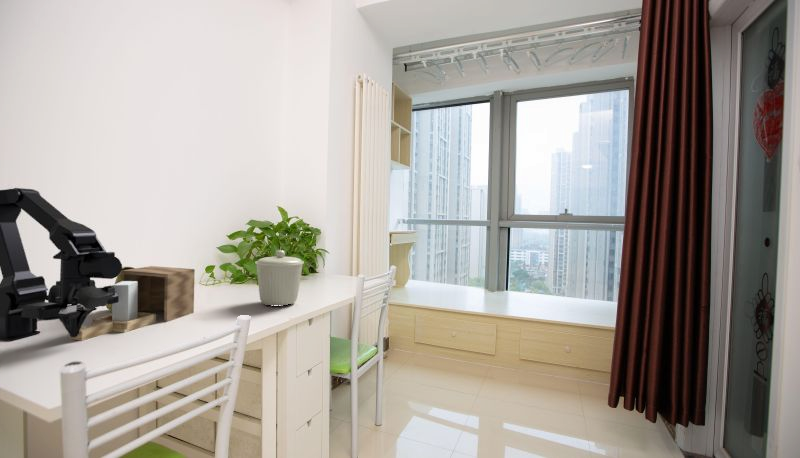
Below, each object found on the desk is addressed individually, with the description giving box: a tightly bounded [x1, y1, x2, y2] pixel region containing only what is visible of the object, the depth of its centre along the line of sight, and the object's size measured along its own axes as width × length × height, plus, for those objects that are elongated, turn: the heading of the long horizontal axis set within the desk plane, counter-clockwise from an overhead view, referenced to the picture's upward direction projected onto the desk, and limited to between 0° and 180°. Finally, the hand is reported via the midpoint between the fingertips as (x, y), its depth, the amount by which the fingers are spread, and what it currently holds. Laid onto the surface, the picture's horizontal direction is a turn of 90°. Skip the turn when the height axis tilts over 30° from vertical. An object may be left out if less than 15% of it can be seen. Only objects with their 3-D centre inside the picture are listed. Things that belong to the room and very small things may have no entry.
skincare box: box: [111, 281, 138, 322], centre depth 102 cm, size 6×4×12 cm
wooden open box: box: [121, 265, 196, 323], centre depth 114 cm, size 11×17×15 cm, turn 80°
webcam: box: [42, 284, 60, 321], centre depth 108 cm, size 8×8×10 cm
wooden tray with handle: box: [72, 312, 157, 342], centre depth 99 cm, size 18×11×3 cm, turn 169°
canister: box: [254, 249, 305, 306], centre depth 134 cm, size 18×18×21 cm
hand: (73, 336), depth 89 cm, fingers closed
